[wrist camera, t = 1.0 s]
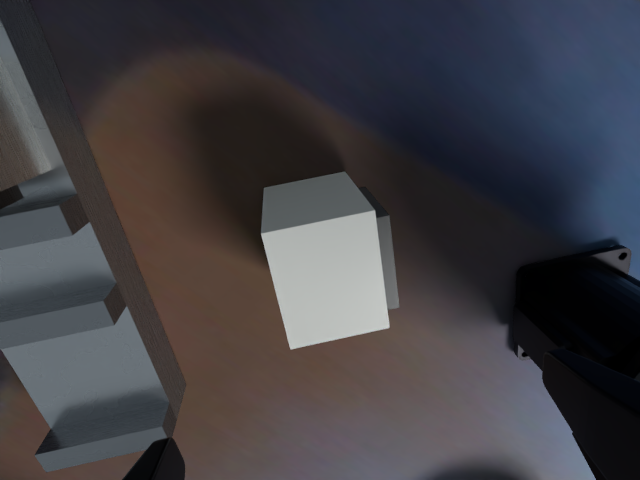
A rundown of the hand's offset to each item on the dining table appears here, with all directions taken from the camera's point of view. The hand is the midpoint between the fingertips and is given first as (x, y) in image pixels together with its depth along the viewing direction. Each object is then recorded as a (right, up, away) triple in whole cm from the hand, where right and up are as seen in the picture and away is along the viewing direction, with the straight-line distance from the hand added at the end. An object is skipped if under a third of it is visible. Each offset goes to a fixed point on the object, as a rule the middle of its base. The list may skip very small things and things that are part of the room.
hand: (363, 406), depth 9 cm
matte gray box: (-1, +5, +11) cm, 12 cm away
